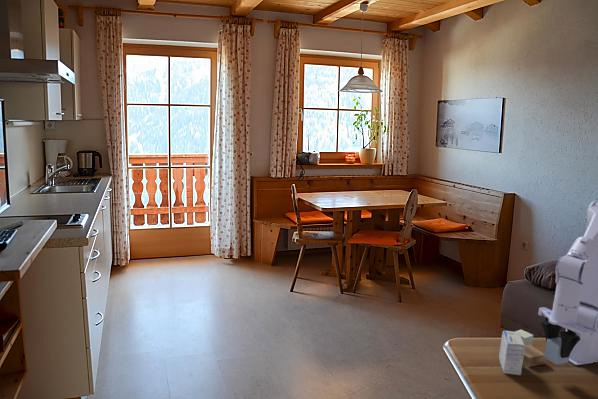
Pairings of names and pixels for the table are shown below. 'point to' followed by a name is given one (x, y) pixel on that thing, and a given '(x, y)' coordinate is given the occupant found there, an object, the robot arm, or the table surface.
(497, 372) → the table surface
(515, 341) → the medicine box
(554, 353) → the slate block
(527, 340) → the sage cube
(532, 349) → the tan square block
